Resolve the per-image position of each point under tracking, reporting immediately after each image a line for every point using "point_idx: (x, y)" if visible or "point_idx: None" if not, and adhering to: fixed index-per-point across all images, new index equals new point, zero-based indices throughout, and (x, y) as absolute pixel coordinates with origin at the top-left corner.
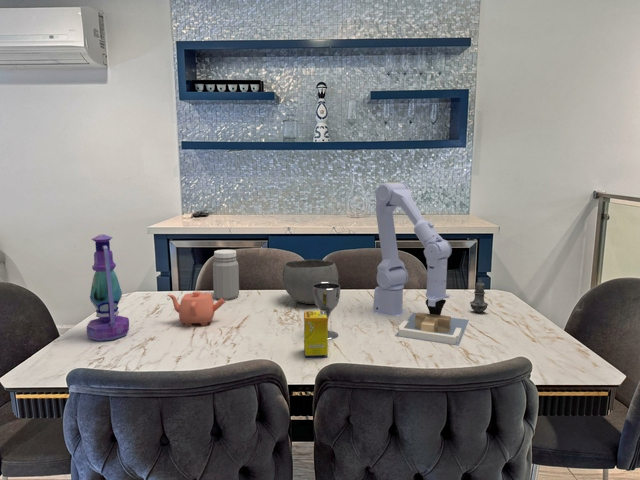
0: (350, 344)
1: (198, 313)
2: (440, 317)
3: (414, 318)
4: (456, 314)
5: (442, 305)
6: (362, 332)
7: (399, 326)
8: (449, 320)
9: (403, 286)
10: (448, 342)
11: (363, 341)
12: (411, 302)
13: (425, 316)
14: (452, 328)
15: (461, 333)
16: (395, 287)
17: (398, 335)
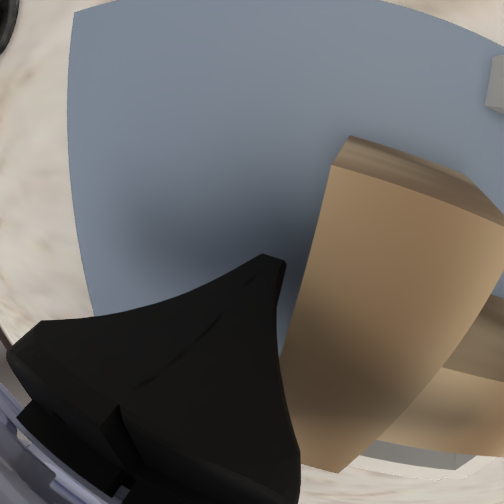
0: (473, 501)
1: None
2: (402, 335)
3: None
4: (19, 110)
5: (295, 475)
6: (383, 495)
7: (426, 478)
8: (481, 210)
9: (37, 450)
10: None
11: (462, 491)
12: (16, 291)
13: (362, 440)
14: (317, 109)
15: (456, 43)
16: (90, 500)
17: None
